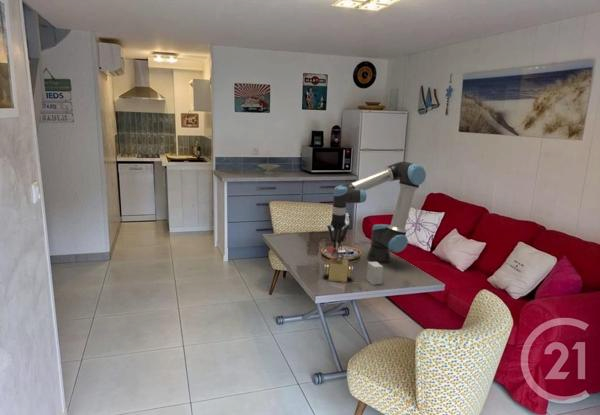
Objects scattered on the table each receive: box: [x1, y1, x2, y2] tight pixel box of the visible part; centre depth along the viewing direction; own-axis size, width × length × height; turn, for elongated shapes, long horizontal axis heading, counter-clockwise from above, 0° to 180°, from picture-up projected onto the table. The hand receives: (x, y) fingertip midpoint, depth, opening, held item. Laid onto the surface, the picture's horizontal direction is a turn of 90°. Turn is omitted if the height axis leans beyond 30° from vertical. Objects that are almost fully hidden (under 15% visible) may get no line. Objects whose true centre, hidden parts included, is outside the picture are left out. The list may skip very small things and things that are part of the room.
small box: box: [365, 261, 384, 286], centre depth 229 cm, size 8×6×10 cm
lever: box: [326, 246, 345, 260], centre depth 235 cm, size 17×4×3 cm, turn 19°
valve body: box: [325, 257, 352, 283], centre depth 231 cm, size 14×9×11 cm, turn 84°
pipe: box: [323, 262, 354, 280], centre depth 231 cm, size 16×8×8 cm, turn 84°
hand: (335, 252), depth 240 cm, fingers closed
